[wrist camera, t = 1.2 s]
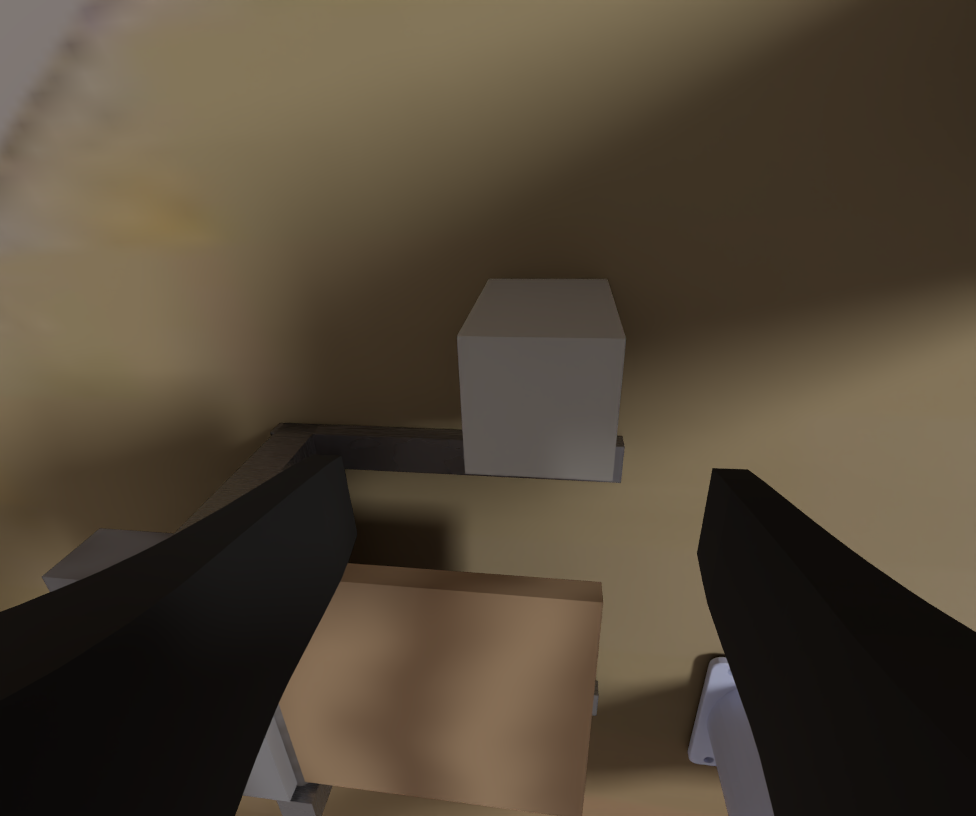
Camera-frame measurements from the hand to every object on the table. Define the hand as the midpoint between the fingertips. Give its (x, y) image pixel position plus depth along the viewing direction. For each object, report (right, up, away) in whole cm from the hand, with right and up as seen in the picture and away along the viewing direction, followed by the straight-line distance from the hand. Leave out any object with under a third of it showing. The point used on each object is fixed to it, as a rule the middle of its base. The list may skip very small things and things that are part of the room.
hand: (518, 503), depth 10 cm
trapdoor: (-6, -8, +10) cm, 14 cm away
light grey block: (+1, +4, +8) cm, 10 cm away
